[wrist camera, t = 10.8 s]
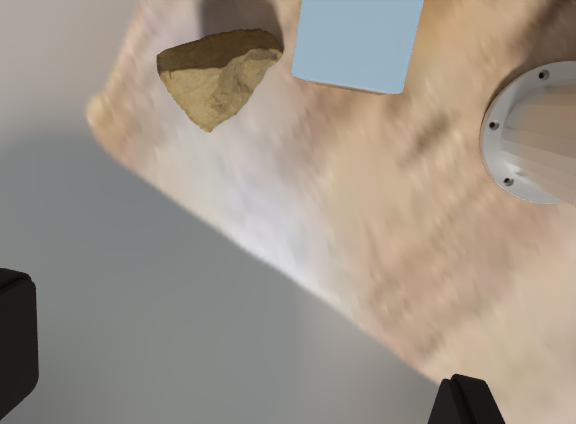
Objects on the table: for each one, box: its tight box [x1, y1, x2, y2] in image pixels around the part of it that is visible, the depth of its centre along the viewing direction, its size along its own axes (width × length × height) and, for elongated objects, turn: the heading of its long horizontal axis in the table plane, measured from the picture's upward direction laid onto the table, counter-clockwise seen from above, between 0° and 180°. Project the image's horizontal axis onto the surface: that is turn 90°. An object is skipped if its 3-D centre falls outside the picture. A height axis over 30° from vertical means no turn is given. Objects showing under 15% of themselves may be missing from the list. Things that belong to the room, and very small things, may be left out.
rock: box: [157, 29, 283, 132], centre depth 37 cm, size 11×9×10 cm
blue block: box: [291, 0, 424, 94], centre depth 23 cm, size 6×6×6 cm
